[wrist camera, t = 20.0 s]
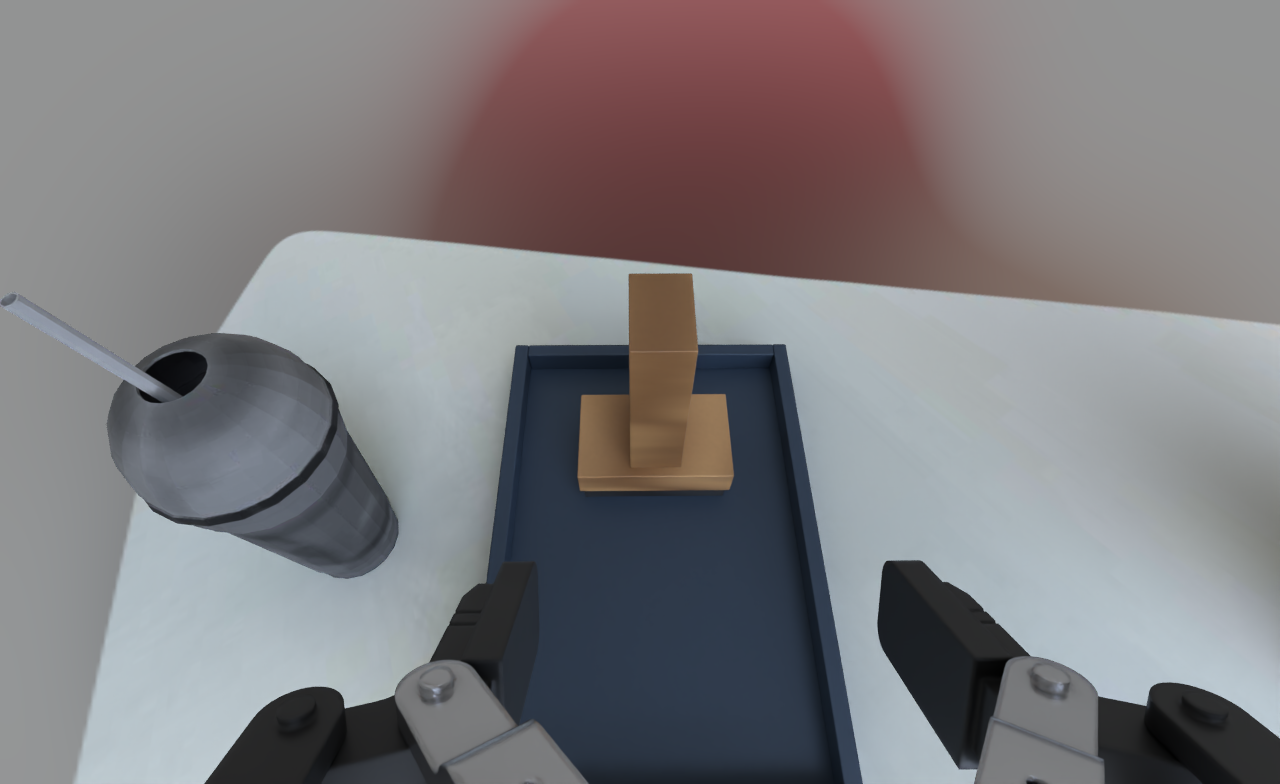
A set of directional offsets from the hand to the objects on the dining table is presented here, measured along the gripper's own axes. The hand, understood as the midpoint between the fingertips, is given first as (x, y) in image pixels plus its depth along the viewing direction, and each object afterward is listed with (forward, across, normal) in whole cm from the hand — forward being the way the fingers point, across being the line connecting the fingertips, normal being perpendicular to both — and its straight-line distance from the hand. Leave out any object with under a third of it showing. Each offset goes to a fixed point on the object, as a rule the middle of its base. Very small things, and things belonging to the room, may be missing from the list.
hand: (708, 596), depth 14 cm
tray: (+18, +1, +7) cm, 19 cm away
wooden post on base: (+20, +1, +4) cm, 21 cm away
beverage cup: (+18, +17, +7) cm, 26 cm away
